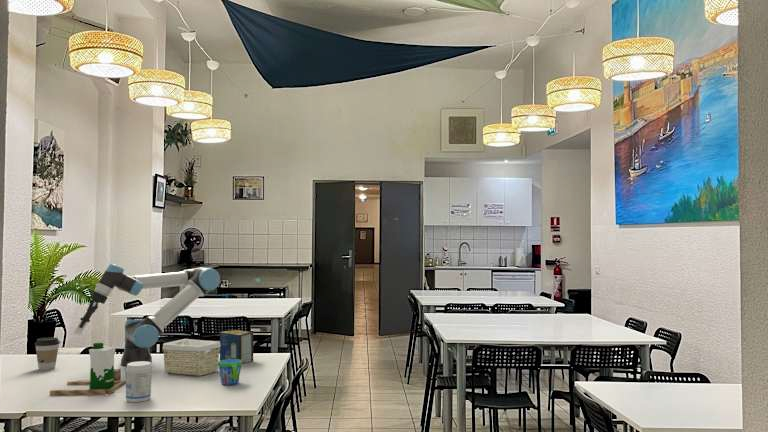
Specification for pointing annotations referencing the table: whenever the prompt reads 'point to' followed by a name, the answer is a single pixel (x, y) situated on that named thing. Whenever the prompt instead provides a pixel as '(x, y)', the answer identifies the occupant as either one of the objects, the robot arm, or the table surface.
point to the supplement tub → (138, 381)
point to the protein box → (236, 345)
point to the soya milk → (102, 366)
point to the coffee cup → (47, 352)
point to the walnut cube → (117, 374)
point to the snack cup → (230, 371)
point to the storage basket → (191, 357)
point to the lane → (86, 392)
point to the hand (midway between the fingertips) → (77, 333)
